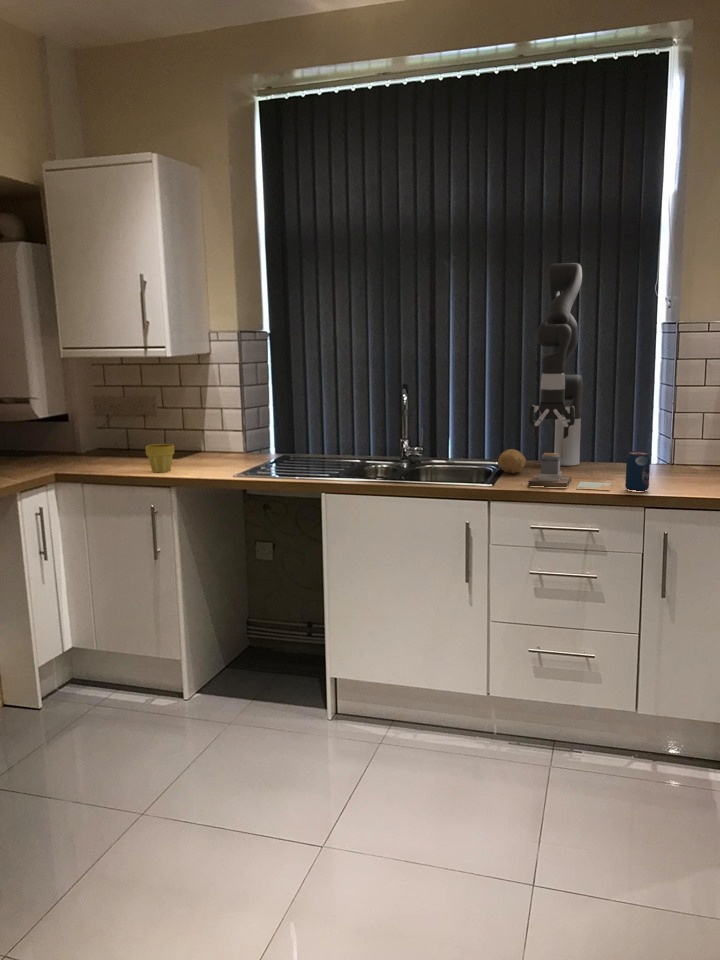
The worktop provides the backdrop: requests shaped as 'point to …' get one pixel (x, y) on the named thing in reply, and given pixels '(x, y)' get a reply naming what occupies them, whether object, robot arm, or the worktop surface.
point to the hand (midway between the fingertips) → (551, 437)
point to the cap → (550, 463)
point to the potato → (511, 461)
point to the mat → (592, 484)
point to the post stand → (550, 480)
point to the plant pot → (160, 456)
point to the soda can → (637, 471)
